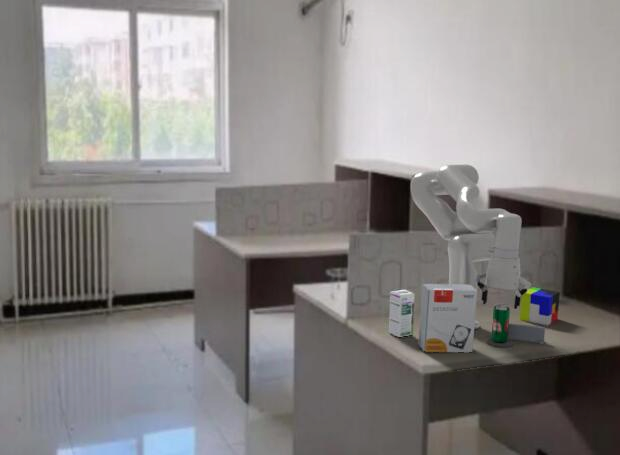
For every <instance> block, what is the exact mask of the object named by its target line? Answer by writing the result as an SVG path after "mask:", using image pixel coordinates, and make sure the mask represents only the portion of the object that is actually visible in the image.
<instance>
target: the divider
mask: <svg viewBox="0 0 620 455" xmlns="http://www.w3.org/2000/svg"><path fill="white" fill-rule="evenodd" d="M545 336H546V327H544V326H543V327H542V326H538V325H537V326H536V325H528V324H519V323H514V322H509V330H508V339H509V340H516V341H522V342H528V341H529V342H530V343H537V344H539V345H544V343H545ZM529 342H528V343H529Z"/></svg>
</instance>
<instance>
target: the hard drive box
mask: <svg viewBox="0 0 620 455" xmlns="http://www.w3.org/2000/svg"><path fill="white" fill-rule="evenodd" d="M477 301H478V289H477V290H476V289H475V288H474V287H472V286H471V285H465V284H449V283H447V284H446V283H445V284H443V283H423V284H422V285H421V300H420V314H419V315H420V316H419V332H418V344H419V345H418V346H419V347H420V348H422V349H421V350H422V351H423V352H424V351H425V352H424V353H433V352H439V353H458V352H464V353H469V352H472V353H473V349H474V336H475V330H474V326H475V320H476V310H477Z"/></svg>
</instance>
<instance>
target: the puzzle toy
mask: <svg viewBox="0 0 620 455" xmlns="http://www.w3.org/2000/svg"><path fill="white" fill-rule="evenodd" d="M560 293H561V292H560V291H556V290H550V289H544V288H538V287H532V286H531V287H530V288H529V289H528V291H527V292H526V293H525V294H523V295H522V296H521V298H520V309H519V310H520V311H519V320H520V321H525V322H529V323H535V324H539V325H543V326H549V325H551V324H552V323H553V322H555V321H557V320H558V319H559V318H558V317H559V305H560V304H559V303H560Z"/></svg>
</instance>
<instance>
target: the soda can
mask: <svg viewBox="0 0 620 455" xmlns="http://www.w3.org/2000/svg"><path fill="white" fill-rule="evenodd" d="M492 312H493V313H492V322H491V325H492V326H491V336H490V338H491V339H492V340H493V341H494V342H496V343H506V342H507V341H508V330H509V323H510V314H511V313H510V312H511V308H510V305H509V304H508V303H505V302H504V303H503V302H496V303H495V304H494V306H493V310H492Z"/></svg>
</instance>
